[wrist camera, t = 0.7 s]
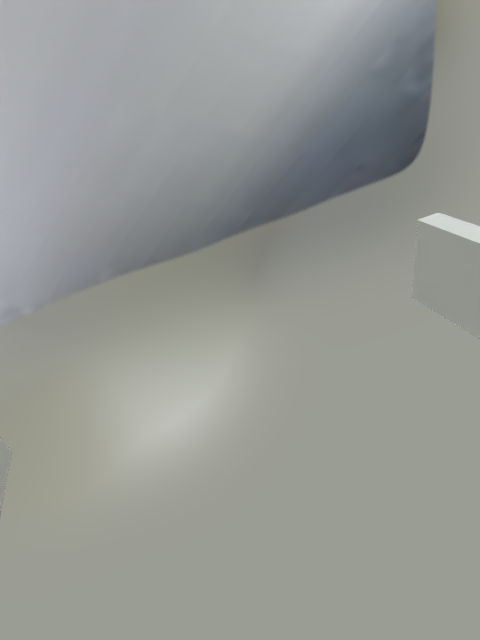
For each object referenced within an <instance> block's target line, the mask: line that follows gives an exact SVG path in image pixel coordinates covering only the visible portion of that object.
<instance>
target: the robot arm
mask: <svg viewBox="0 0 480 640" xmlns="http://www.w3.org/2000/svg"><path fill="white" fill-rule="evenodd" d="M412 298H414V299H415V300H417V301H418V302H420V303H422V304H423V305H425V306H427V307H428V308H430V309H431V310H433V311H435V312H436V313H438V314H440V315H441V316H443V317H444V318H446V319H448V320H450V321H451V322H453V323H455V324H456V325H457V326H459V327H461V328H462V329H464V330H466V331H468V332H469V333H471V334H472V335H474V336H475V337H477V338H479V339H480V226H477V225H474V224H471V223H468V222H465V221H462V220H459V219H456V218H453V217H450V216H447V215H444V214H441V213H436V214H433V215H430V216H427V217H424V218H422V219H419V220H417V233H416V248H415V264H414V279H413V294H412ZM11 454H12V451H11V450H10V449H9V447H8V446H7V445H6V444H5V443H4V441H3V440H2V439H1V437H0V515H1V509H2V504H3V499H4V493H5V487H6V482H7V476H8V471H9V465H10V460H11Z"/></svg>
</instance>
